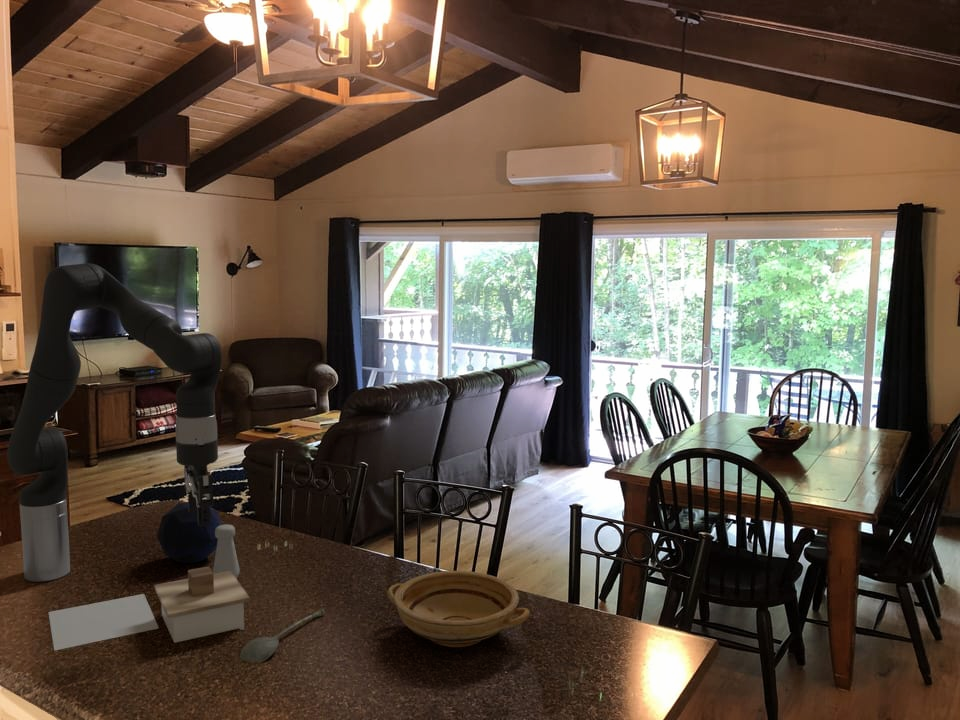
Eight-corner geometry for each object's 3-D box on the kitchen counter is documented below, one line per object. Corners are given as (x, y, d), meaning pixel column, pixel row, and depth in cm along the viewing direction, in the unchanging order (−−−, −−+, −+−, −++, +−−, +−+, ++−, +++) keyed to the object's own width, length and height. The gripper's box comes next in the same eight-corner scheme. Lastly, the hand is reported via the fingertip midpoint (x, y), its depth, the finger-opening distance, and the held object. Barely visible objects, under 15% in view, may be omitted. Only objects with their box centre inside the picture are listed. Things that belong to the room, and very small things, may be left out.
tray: (48, 614, 162) (48, 612, 162) (144, 596, 171) (144, 593, 171) (54, 653, 147) (54, 650, 147) (158, 631, 156) (158, 628, 156)
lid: (154, 588, 161) (153, 565, 160) (230, 574, 169) (229, 552, 168) (168, 618, 148) (167, 593, 147) (249, 601, 156) (249, 577, 155)
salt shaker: (231, 588, 176) (230, 531, 174) (207, 586, 177) (205, 529, 175) (244, 578, 181) (243, 523, 180) (221, 576, 182) (219, 520, 181)
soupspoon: (231, 663, 146) (259, 674, 144) (231, 646, 146) (258, 656, 143) (310, 612, 166) (335, 620, 163) (309, 597, 165) (335, 605, 162)
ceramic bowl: (547, 621, 162) (548, 584, 161) (504, 679, 140) (505, 636, 139) (417, 595, 174) (417, 560, 173) (358, 645, 151) (358, 605, 150)
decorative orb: (208, 520, 203) (174, 483, 194) (246, 533, 195) (213, 494, 186) (169, 567, 195) (132, 530, 186) (207, 582, 187) (170, 544, 178)
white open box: (162, 618, 161) (160, 589, 160) (227, 604, 168) (227, 577, 167) (174, 645, 150) (173, 615, 149) (244, 629, 157) (243, 600, 156)
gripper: (169, 432, 158) (172, 511, 160) (183, 448, 146) (186, 533, 148) (208, 428, 162) (210, 505, 164) (225, 443, 150) (228, 527, 152)
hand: (199, 518), depth 156 cm, fingers open, 8 cm apart
